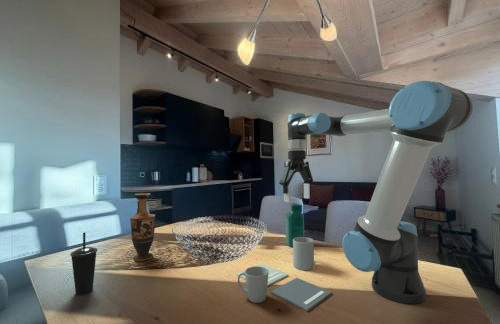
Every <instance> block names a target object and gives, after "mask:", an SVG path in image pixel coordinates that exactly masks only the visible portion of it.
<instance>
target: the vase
mask: <svg viewBox="0 0 500 324" xmlns="http://www.w3.org/2000/svg"><path fill="white" fill-rule="evenodd" d="M151 194H152V193H149V192H148V193H146V192H145V193H141V192H140V193H135V194H134V197H135V199H136V200H137V209H136V210H137V211H136V212H135V214H134V215H132V216H130V217H129V221H130V222H129V223H130V232H131V233H130V234H131V235H130V236H131V242H132V246H133V247H134V249H135V251H136V253H137V254H136V255H134V256H133V258H132V260H133V261H134V260H135V261H134V262H138V261H141V262H146V261H145V260H147V261H149V260H151V259H153V258H154V253H152V252H150V251H151V247H152V244H153V242H154V237H155V230H156V214H153V213H149V212H148V208H147V206H148V205H147V202H148V200H149V199H150V197H151ZM148 259H149V260H148Z"/></svg>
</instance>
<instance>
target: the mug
mask: <svg viewBox="0 0 500 324" xmlns="http://www.w3.org/2000/svg"><path fill="white" fill-rule="evenodd" d="M314 243H315V241H314V239H313V238H311V237H306V236H304V237H296V238H294V239H293V247H292V253H293V254H292V261H293V262H292V263H293V264H292V265H293V267H294V268H295V269H297V270H299V271H304V272H306V271H311V270H313V269H314V268H315V251H314V249H315V247H314V245H315V244H314Z"/></svg>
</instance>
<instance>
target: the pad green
mask: <svg viewBox="0 0 500 324" xmlns="http://www.w3.org/2000/svg"><path fill="white" fill-rule="evenodd" d="M256 266H259V267H264V268H266V269H268V271H269V273H268V285H267V287H269V286H270V285H273V284H274V283H277V282H279V281H280V280H283V279H284V278H287V277H288V276H289V273H286V272H285V271H284V272H283V271H282V270H279V269H277V268H273V267H271V266H269V265H266V264H264V263H260V264H257V265H256ZM244 271H245V270H243V271H241V272H237V273H236V275H237V277H238V276H239V274H240V273H242V272H244ZM240 278H241V279H242V280H245V281H246V279H245V276H244V275H241V276H240Z"/></svg>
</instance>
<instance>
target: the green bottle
mask: <svg viewBox="0 0 500 324" xmlns="http://www.w3.org/2000/svg"><path fill="white" fill-rule="evenodd" d="M288 205H289V206H290V211H287V212H286V213H285V216H284V217H285V243H286V245H287V246H288V247H290V248H293V239H294V238H296V237H305V218H304V217H305V216H304V213H302V212H303V205H302V204H300V203H296V202H292V203H291V202H290V203H289V204H288Z"/></svg>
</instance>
